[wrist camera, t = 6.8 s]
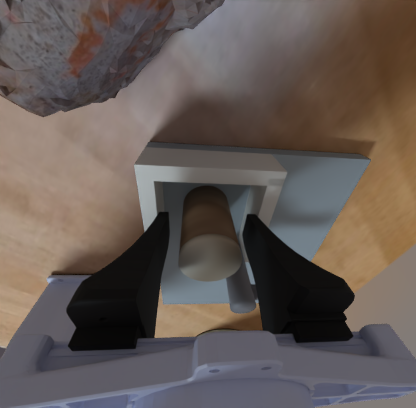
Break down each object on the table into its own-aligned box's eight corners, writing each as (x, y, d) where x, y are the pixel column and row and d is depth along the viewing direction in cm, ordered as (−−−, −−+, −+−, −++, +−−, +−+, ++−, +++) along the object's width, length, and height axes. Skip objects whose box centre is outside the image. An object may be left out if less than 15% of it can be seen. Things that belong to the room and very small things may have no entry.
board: (164, 295, 26) (155, 361, 20) (148, 141, 14) (115, 192, 8) (283, 294, 28) (307, 354, 22) (360, 154, 16) (460, 204, 10)
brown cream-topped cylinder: (183, 221, 17) (178, 281, 12) (183, 184, 15) (177, 240, 10) (225, 222, 17) (236, 281, 13) (230, 186, 15) (247, 240, 10)
